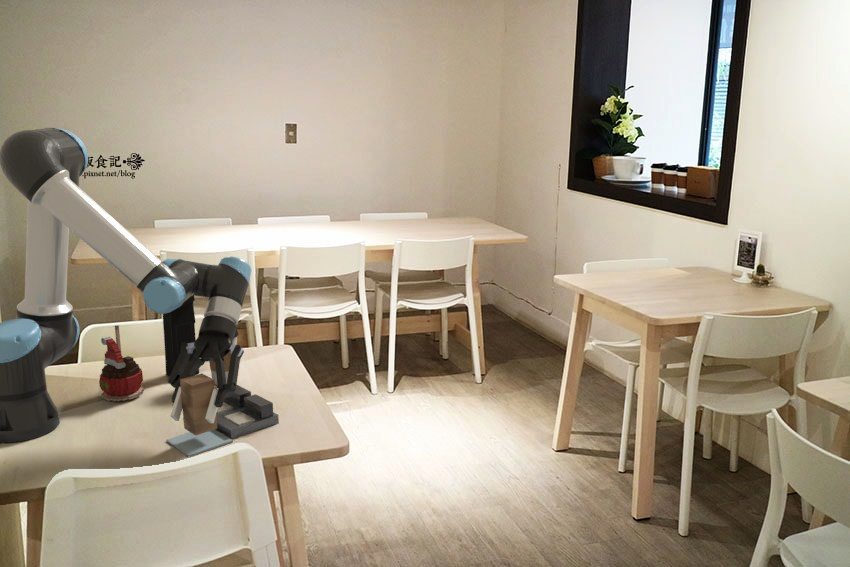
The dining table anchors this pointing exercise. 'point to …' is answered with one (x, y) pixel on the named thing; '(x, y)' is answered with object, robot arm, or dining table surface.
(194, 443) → the mat
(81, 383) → the dining table surface
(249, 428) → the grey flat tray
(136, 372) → the cake
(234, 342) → the coffee cup
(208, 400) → the walnut block
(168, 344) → the portable radio
